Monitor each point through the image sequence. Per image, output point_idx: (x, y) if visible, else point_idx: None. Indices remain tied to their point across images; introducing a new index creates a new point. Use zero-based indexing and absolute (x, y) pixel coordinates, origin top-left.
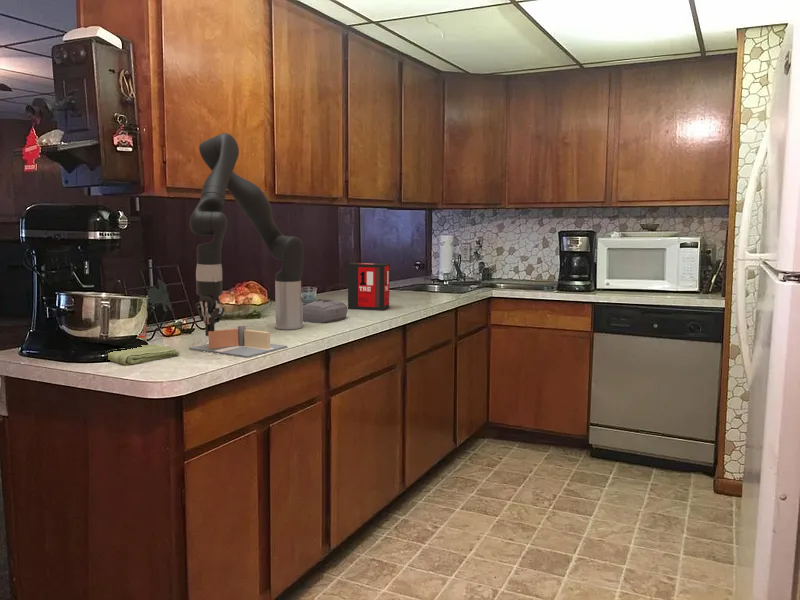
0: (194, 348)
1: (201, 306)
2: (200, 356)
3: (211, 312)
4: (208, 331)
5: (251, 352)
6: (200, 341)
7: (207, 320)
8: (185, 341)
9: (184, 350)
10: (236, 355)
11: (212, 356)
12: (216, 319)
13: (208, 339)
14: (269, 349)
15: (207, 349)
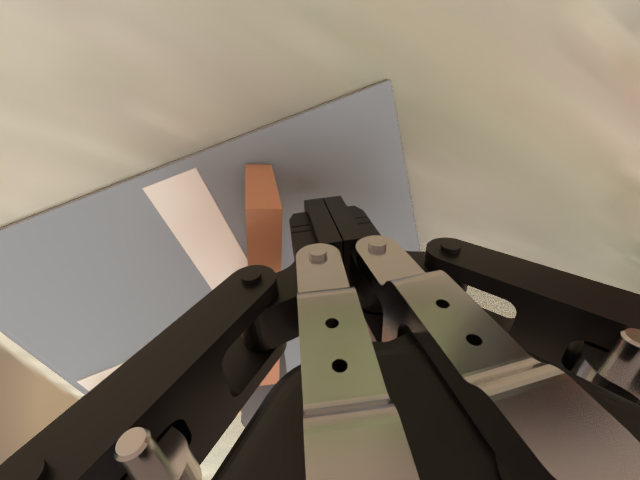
0: (348, 99)
1: (532, 366)
2: (107, 20)
3: (284, 377)
4: (277, 208)
5: (42, 310)
6: (513, 224)
7: (328, 266)
8: (574, 168)
9: (385, 38)
10: (7, 226)
11: (68, 97)
12: (244, 340)
13: (275, 183)
14: (84, 385)
15: (268, 152)
